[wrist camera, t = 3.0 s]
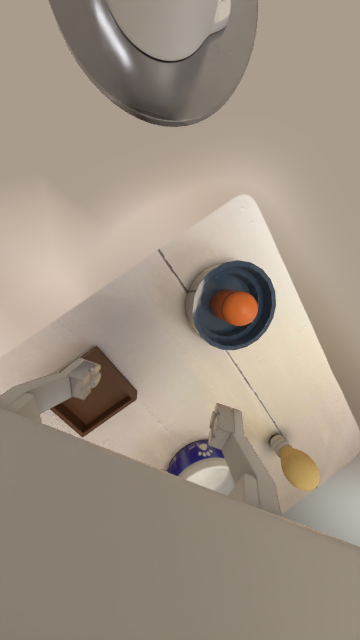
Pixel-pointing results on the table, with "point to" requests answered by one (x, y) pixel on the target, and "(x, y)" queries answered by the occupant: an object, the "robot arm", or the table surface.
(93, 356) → the tray
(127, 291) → the table surface
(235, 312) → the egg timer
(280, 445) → the light bulb
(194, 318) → the glazed bowl
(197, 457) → the dog bowl
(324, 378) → the table surface
